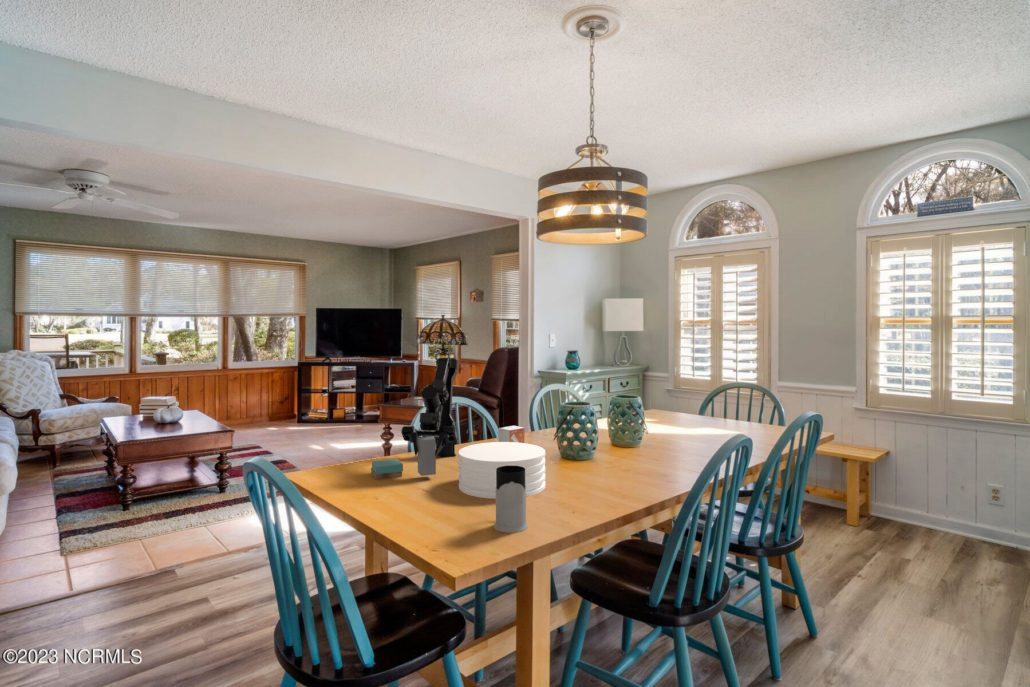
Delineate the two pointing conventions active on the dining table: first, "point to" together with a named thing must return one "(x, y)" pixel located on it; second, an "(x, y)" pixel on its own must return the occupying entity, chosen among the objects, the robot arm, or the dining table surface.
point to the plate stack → (487, 457)
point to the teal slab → (387, 466)
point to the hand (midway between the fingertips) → (425, 454)
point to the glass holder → (510, 499)
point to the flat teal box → (386, 475)
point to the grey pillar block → (426, 455)
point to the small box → (511, 434)
